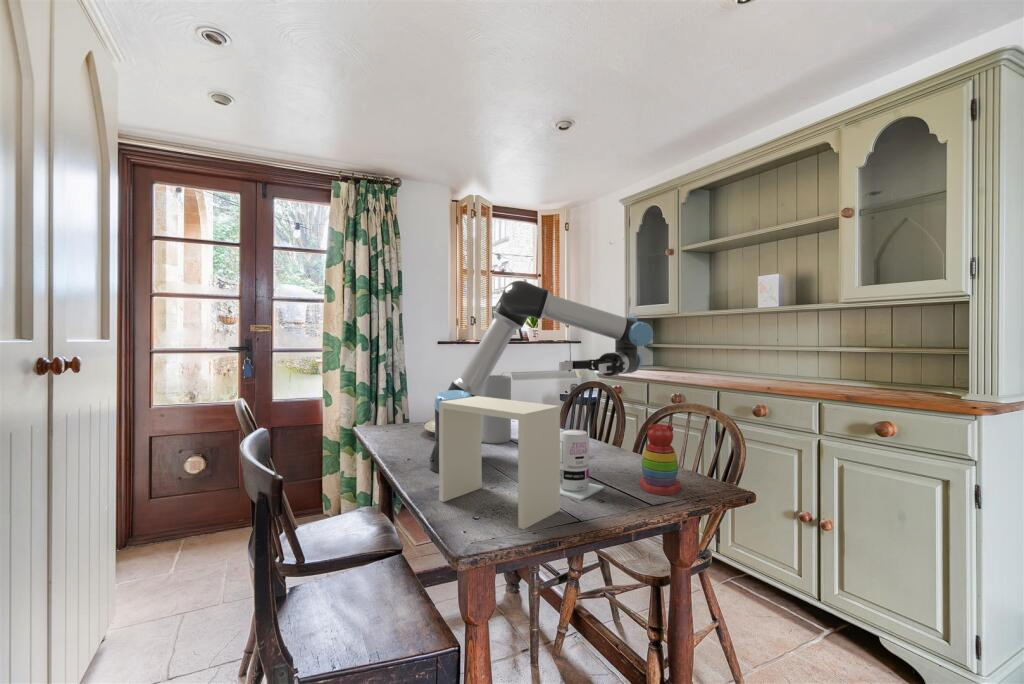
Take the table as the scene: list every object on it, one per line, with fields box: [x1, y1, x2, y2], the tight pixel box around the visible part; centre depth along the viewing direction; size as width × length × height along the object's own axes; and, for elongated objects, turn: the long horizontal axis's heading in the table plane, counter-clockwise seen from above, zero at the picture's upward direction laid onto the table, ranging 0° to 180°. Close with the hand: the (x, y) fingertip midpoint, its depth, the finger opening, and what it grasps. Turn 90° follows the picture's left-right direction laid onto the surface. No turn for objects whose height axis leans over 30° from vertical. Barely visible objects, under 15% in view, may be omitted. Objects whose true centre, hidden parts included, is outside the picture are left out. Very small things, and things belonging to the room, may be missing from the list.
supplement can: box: [560, 429, 590, 492], centre depth 127 cm, size 8×8×15 cm
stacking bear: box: [639, 423, 682, 496], centre depth 127 cm, size 11×10×18 cm
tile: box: [560, 482, 605, 501], centre depth 127 cm, size 12×12×1 cm
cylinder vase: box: [481, 374, 512, 445], centre depth 184 cm, size 12×12×25 cm
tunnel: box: [438, 396, 561, 530], centre depth 115 cm, size 14×27×25 cm, turn 51°
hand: (579, 367), depth 139 cm, fingers open, 13 cm apart
